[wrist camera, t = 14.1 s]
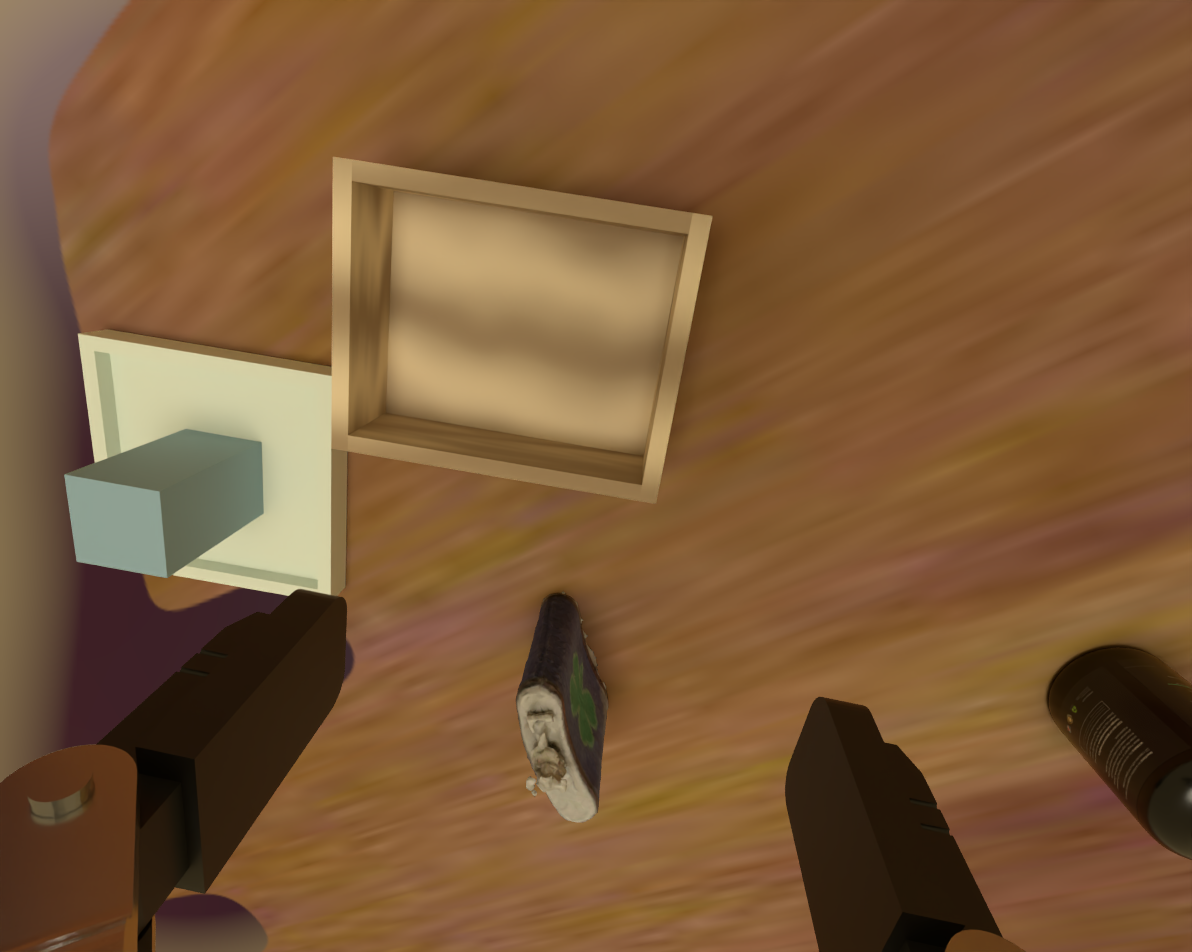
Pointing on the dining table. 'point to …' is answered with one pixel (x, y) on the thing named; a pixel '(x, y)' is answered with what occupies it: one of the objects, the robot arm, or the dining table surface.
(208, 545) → the block
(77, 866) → the robot arm
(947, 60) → the dining table surface
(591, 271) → the crate
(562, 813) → the flask
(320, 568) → the plate
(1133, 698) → the supplement bottle
